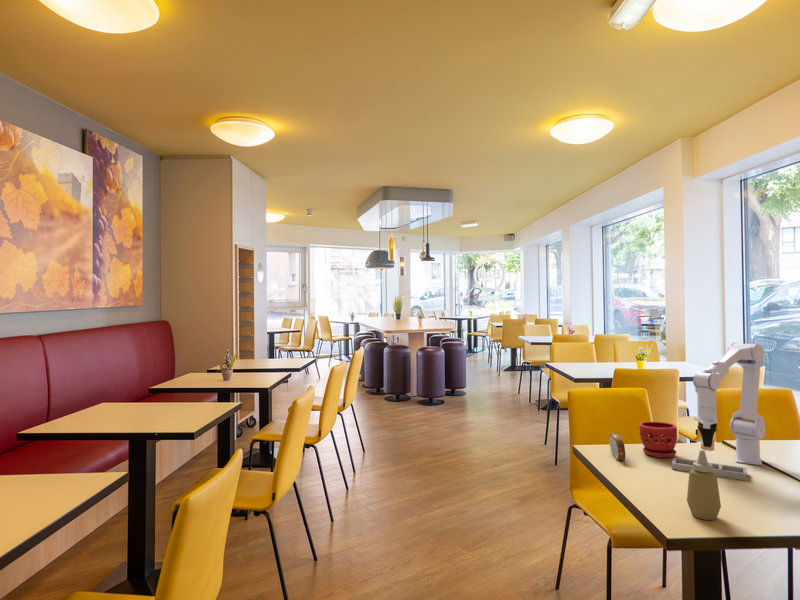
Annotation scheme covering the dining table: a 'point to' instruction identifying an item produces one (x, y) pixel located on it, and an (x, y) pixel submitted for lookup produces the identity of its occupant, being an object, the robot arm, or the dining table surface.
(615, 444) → the tin
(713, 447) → the egg
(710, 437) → the robot arm
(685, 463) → the grey compartment tray
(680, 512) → the dining table surface
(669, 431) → the plant pot
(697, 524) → the dining table surface
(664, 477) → the dining table surface
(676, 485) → the dining table surface
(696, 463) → the squeeze bottle
